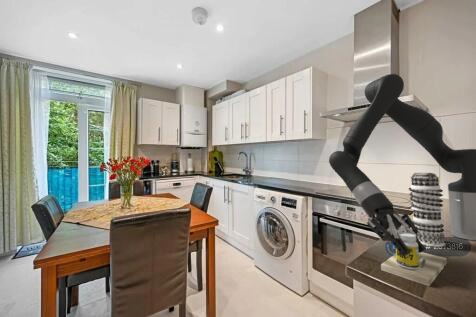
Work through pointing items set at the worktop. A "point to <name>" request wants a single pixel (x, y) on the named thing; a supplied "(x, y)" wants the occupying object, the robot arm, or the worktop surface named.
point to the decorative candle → (427, 208)
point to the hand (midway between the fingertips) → (414, 252)
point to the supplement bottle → (413, 257)
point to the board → (425, 272)
